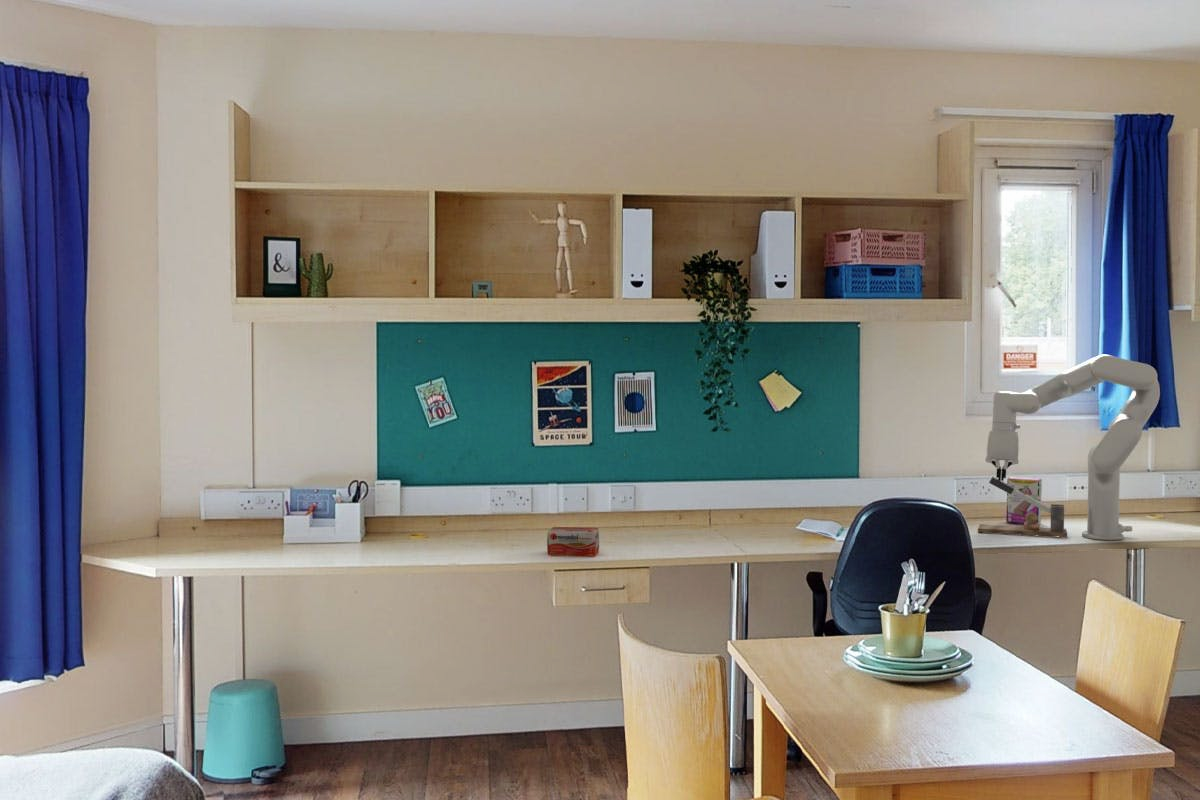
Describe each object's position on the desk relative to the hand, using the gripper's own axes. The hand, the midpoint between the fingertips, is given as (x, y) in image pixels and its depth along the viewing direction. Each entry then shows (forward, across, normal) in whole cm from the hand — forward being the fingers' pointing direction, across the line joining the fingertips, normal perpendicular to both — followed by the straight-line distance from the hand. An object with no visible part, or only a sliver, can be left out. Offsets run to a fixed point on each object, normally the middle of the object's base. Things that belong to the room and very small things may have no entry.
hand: (1000, 480), depth 372 cm
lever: (+6, -8, 0) cm, 10 cm away
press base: (+18, -8, 0) cm, 19 cm away
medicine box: (+23, +121, +89) cm, 152 cm away
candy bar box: (+18, -8, -22) cm, 29 cm away
